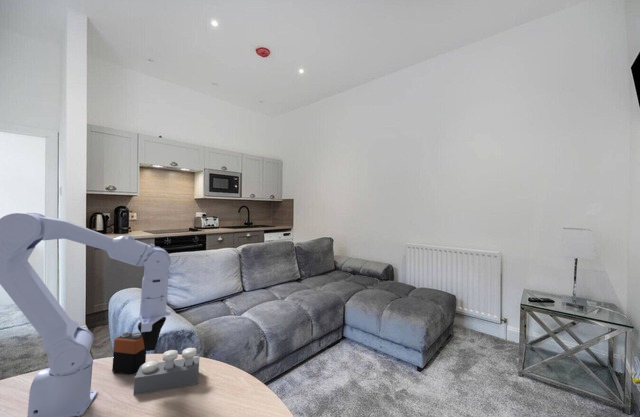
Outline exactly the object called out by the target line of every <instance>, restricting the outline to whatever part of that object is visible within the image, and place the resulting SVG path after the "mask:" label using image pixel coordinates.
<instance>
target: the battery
mask: <svg viewBox="0 0 640 417" xmlns="http://www.w3.org/2000/svg"><path fill="white" fill-rule="evenodd" d="M113 342H114V343H113V356H112V367H111V368H112V369H111V371H112V373H114V374H115V373H116V374H123V375H131V376H133V375H136V374H137V372H138V370H139V368H140V366H141V365H143V364H144V363H146V360H147V359H146V358H147V351H145V348H144V342H143V337H142V335H141V333H140V331H139V332H138V331H137V332H133V333H132V332H131V333H130V332H129V331H125V332H123V333H122V335H120V336H117V337H116V338H115V339H114V341H113ZM113 357H114V358H113Z"/></svg>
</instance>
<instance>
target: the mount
mask: <svg viewBox="0 0 640 417" xmlns="http://www.w3.org/2000/svg"><path fill="white" fill-rule="evenodd" d="M165 362H166V361H159V362H158V365H157V369H156V370H155V371H153V372H150V373H142V365H141V366H140V368H139V370H138V372H137V373H136V374H135V376H134V380H133V382H134V383H133V394H132V395H133V396H136V395H142V394H147V393H148V394H149V393H153V392H159V391H164V390H170V389H176V388H181V387H182V388H183V387H189V386H193V385H198V384H199V381H198V380H199V372H200V356H195V357H193V366H186V367H185V358H181V359H175V360H174V368H172V369H166V370H165Z"/></svg>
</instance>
